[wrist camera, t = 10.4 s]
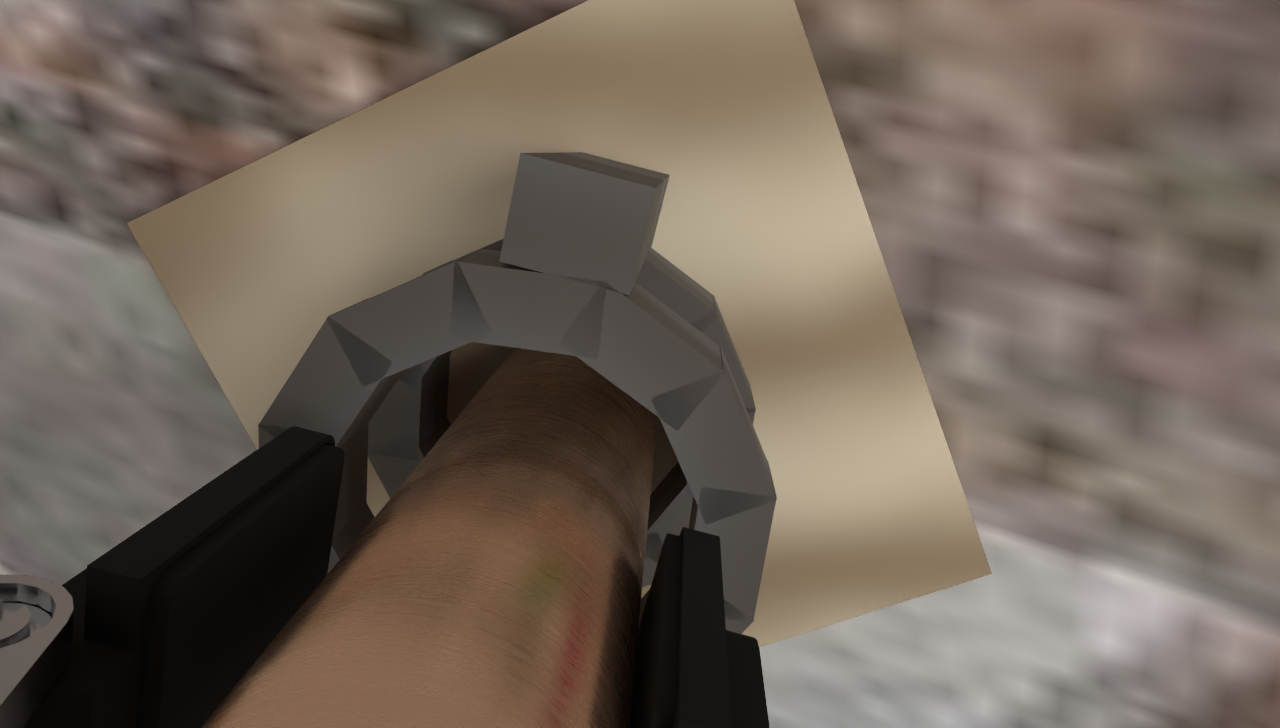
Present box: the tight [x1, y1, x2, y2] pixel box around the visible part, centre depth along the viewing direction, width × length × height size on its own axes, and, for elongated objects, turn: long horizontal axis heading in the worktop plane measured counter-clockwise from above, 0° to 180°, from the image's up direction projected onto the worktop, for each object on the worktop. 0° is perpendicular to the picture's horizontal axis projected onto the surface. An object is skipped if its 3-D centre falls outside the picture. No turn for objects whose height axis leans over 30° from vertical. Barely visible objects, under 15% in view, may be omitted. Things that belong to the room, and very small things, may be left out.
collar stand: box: [127, 0, 992, 647], centre depth 16 cm, size 16×16×8 cm
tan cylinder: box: [201, 348, 657, 728], centre depth 11 cm, size 4×4×16 cm
